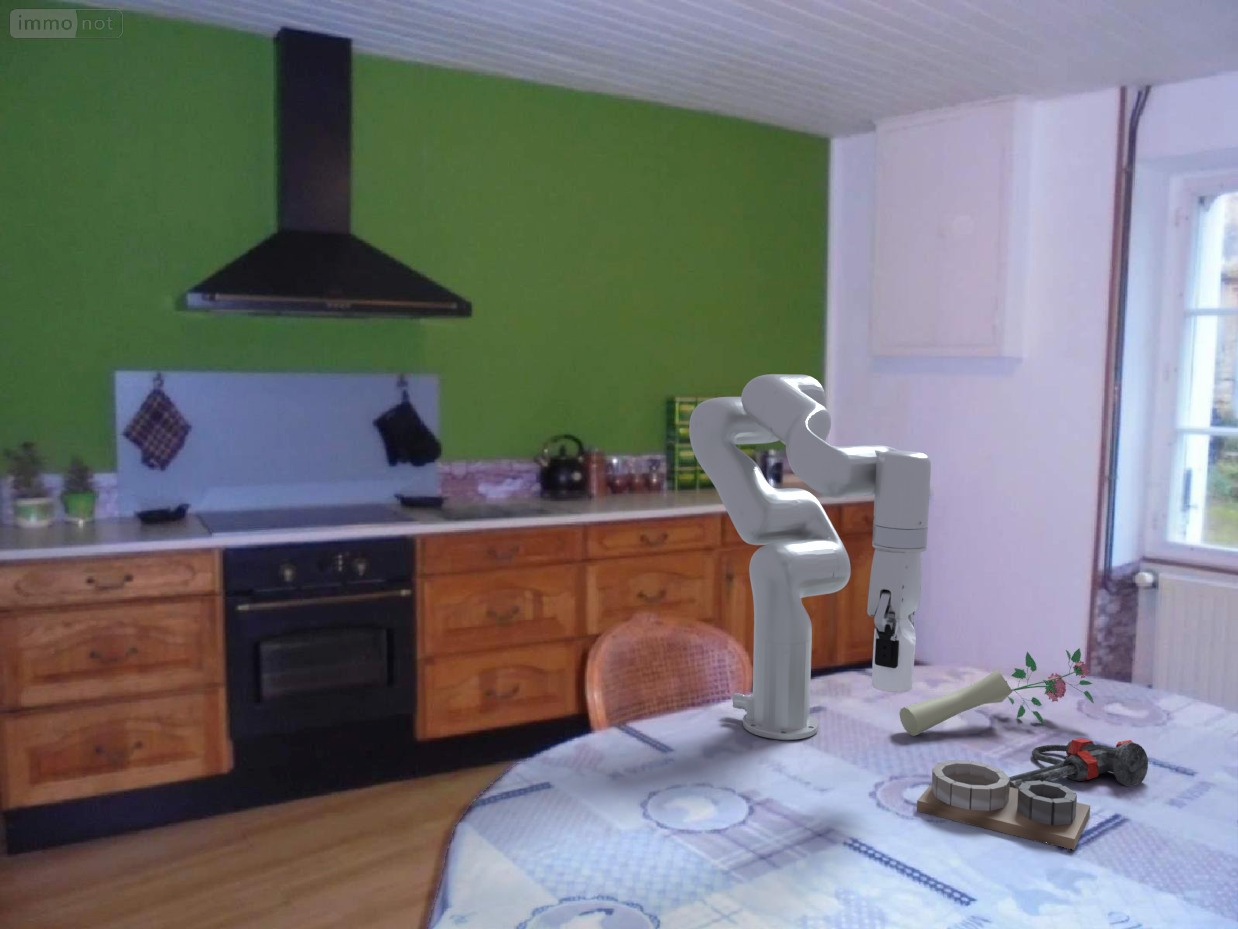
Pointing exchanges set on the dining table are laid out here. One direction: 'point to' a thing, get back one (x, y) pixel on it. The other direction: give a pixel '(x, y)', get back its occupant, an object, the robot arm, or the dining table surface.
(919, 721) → the flower vase
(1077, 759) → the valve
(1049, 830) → the fitting board
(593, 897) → the dining table surface
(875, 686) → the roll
